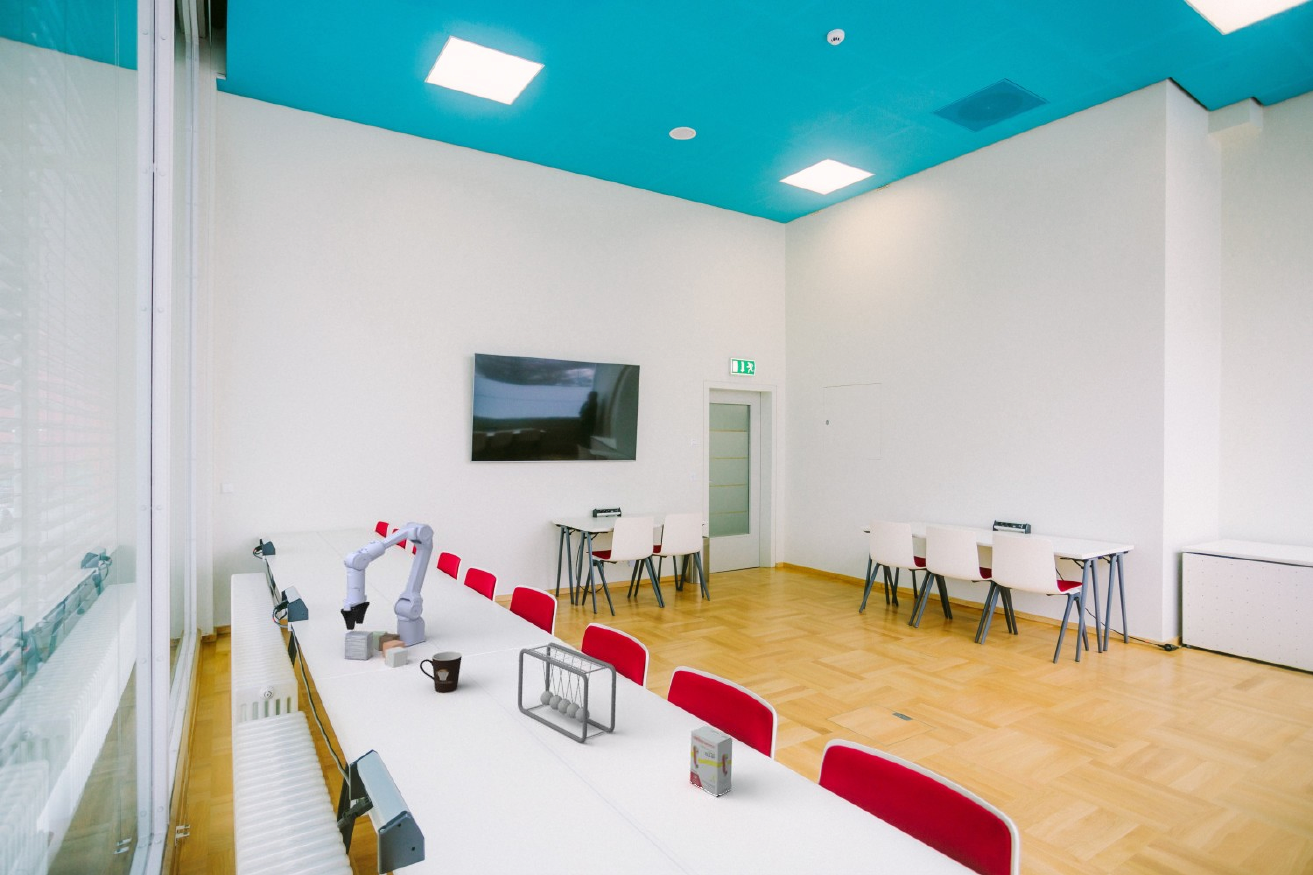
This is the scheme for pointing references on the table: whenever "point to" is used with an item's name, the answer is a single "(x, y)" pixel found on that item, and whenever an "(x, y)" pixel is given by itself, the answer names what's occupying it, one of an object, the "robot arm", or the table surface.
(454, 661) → the coffee mug
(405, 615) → the robot arm
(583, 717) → the newton's cradle
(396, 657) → the pale grey block
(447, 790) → the table surface
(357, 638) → the medicine box
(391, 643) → the terracotta block
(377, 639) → the sage block
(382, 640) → the walnut block
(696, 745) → the ink box
